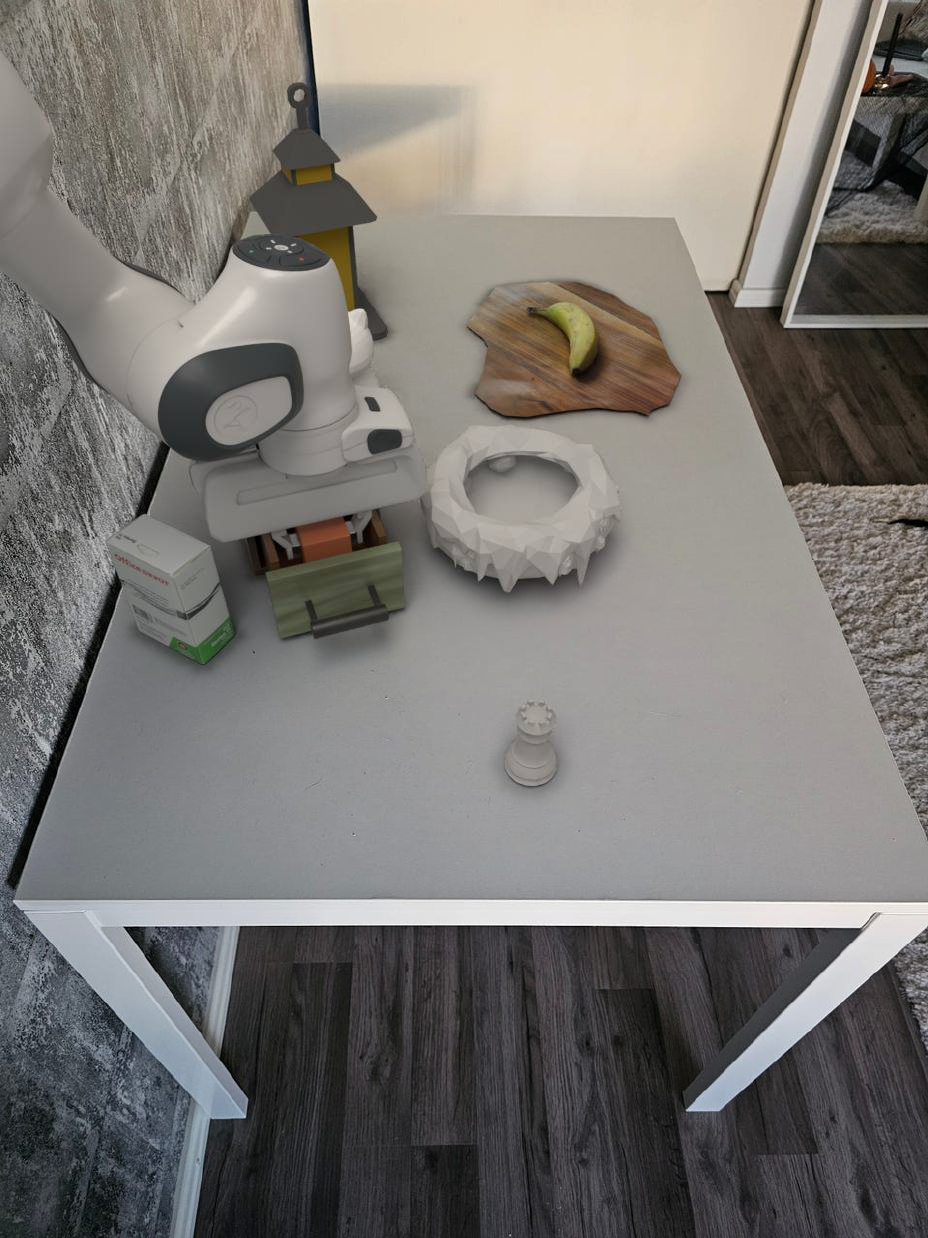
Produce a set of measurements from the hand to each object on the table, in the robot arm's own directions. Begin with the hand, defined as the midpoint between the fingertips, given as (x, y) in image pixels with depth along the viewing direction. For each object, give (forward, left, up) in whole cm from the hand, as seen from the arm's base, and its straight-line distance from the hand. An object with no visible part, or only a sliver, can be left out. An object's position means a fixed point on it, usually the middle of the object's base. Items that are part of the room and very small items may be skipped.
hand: (324, 547), depth 88 cm
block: (0, 0, -2) cm, 2 cm away
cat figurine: (+9, +29, -6) cm, 31 cm away
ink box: (-15, -1, -6) cm, 16 cm away
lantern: (+12, +51, -6) cm, 52 cm away
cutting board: (+41, +34, -6) cm, 54 cm away
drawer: (0, -1, -5) cm, 5 cm away
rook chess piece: (+11, -26, -6) cm, 29 cm away
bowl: (+20, 0, -6) cm, 21 cm away
